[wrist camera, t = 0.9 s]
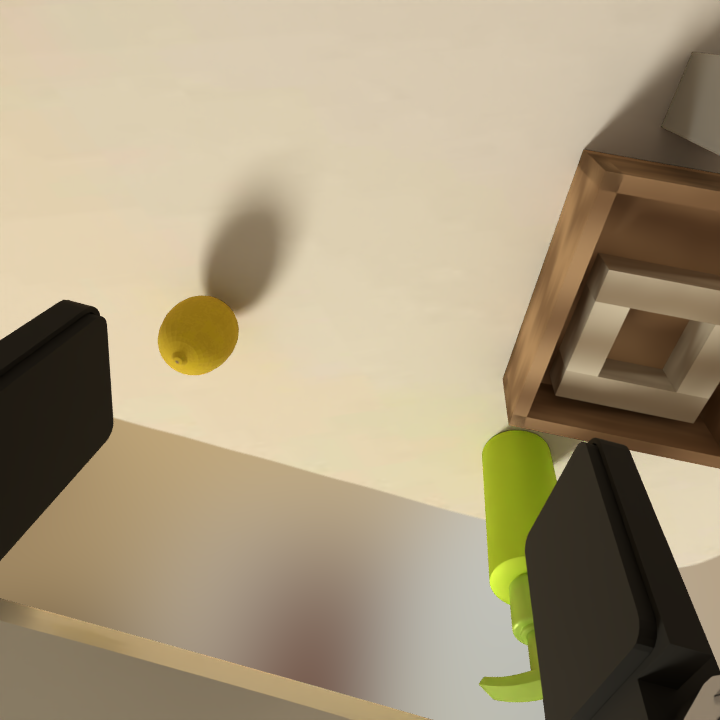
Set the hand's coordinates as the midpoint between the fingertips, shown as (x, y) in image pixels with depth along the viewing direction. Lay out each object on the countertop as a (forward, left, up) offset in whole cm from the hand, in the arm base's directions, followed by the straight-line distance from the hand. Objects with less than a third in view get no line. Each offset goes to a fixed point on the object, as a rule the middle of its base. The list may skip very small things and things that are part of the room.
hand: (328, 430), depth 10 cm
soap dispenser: (+24, +13, -30) cm, 41 cm away
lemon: (+15, -14, -30) cm, 36 cm away
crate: (+7, +18, -30) cm, 35 cm away
